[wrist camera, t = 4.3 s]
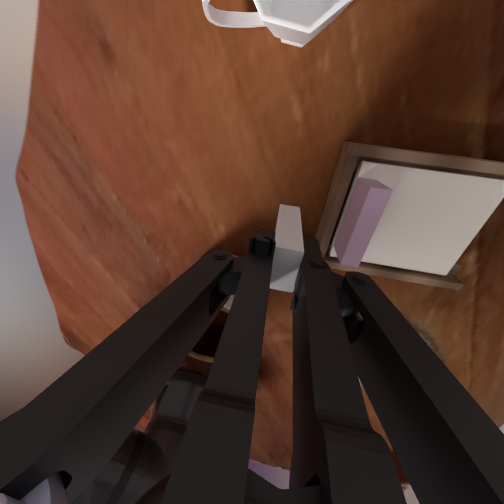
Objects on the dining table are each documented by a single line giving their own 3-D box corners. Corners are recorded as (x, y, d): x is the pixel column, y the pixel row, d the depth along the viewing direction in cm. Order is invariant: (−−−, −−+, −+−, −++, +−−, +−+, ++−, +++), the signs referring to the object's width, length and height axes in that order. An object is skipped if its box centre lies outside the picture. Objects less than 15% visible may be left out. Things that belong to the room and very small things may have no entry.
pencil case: (311, 247, 27) (315, 265, 23) (343, 141, 20) (354, 144, 17) (436, 268, 26) (459, 290, 22) (510, 162, 19) (557, 170, 16)
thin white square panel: (328, 252, 24) (335, 275, 20) (360, 159, 19) (378, 168, 15) (440, 270, 23) (470, 299, 19) (505, 179, 18) (563, 193, 14)
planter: (180, 281, 33) (144, 332, 25) (218, 235, 28) (188, 280, 20) (235, 318, 35) (219, 375, 27) (279, 282, 30) (276, 339, 22)
